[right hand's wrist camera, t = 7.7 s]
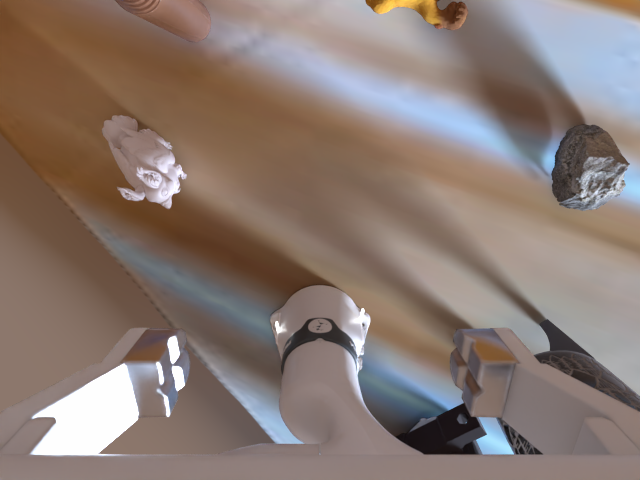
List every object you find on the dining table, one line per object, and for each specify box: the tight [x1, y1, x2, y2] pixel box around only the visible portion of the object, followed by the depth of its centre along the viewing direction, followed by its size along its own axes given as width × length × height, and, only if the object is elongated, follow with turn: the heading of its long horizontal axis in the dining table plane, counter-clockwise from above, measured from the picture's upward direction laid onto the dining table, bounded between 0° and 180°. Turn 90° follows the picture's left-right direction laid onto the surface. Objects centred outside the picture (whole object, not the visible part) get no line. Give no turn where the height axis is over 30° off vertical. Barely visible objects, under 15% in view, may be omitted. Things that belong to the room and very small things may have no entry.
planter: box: [496, 319, 640, 455], centre depth 56 cm, size 20×20×26 cm
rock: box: [552, 124, 630, 211], centre depth 53 cm, size 13×9×6 cm, turn 27°
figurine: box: [102, 115, 187, 209], centre depth 50 cm, size 8×15×13 cm, turn 42°
